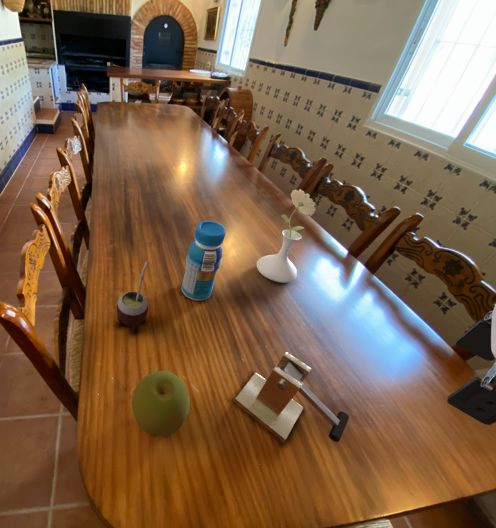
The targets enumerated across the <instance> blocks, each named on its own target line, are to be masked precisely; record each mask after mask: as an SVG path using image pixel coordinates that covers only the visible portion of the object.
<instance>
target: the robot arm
mask: <svg viewBox="0 0 496 528" xmlns="http://www.w3.org/2000/svg"><path fill="white" fill-rule="evenodd" d="M455 345H456V346H457V347H458V348H460V349H462V350H464V351H467V352H469V353H471V354H473V355H475V356H476V357H478V358H480V359H483V360H485V361H487V362H491V361H494V360H496V304H495V306H494V307H493V310H490V311H488V312H487V314H486V315H485V316H484V318H483V319H480V320H479V321H477V322H476V323H475V324H474V325H473V326H471V327H470V328H469V329H468V330H467V331H465V333H464V334H462V335H461V336H459V337H458V338H457V339H456V342H455ZM446 402H447V403H448V405H450V406H452V407H453V408H455V409H457V410H459V411H460V412H462V413H463V414H466V415H467V416H469V417H471V418H473V419H474V420H476V421H478V422H479V423H481V424H483V425H487V426H491V425H493V424H495V423H496V361H495V362H494V363H493V365H492V366H491V367H490V368H489V370H488V371H487V373H486V374H485V375H484V376H483V378H480V377H479V376H475V377H474V378H472V379H471V380H469V381H468V382H466V383H465V384H463V385H462V386H461V387H459V388H458V389H457V390H455V391H453V392H452V393H451V394H449V395H448V396H447V400H446Z"/></svg>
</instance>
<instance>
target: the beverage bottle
mask: <svg viewBox="0 0 496 528" xmlns="http://www.w3.org/2000/svg"><path fill="white" fill-rule="evenodd" d="M225 237H226V227H224V226H223V224H221V223H219V222H216V221H213V220H203V221H200V222H198V224H197V225H196V227H195V232H194V239H193V241H192V242H191V243H190V245H189V247H188V252H187V254H186V257H185V269H184V275H183V278H182V282H181V288H180V289H181V292H182V294H183V295H184V296H185V297H186V298H188V299H190V300H192V301H205V300H207V299H209V298H210V297H211V295H212V293H213V288H214V284H215V280H216V277H217V274H218V272H219V269H220V267H221V264H222V258H223V255H224V254H223V252H224V251H223V247H222V244H223V243H224V240H225Z"/></svg>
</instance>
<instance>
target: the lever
mask: <svg viewBox="0 0 496 528" xmlns="http://www.w3.org/2000/svg"><path fill="white" fill-rule="evenodd" d="M280 369H281V370H282V371H284V372H285V373H287V374H288V375H290V376H291V377H292V378H294V379H295V380H297V381H298V382H300V383H301V384H302V386H301V387H300V389H299V390H298V391H297V392H298V393H300V395H301V396H302V397H303V398H304V399H305V400H306V401H307V402H308V403H309V404H310V405H311V406H312V407H313V408H314V409H315V410H316V411H317V412H318V413H319V414H320V415H321V416H322V417H323V419H324V420H326V421H327V422H328V423H329V425H330V426H331V429H330V431H329V432H328V438H329V439H330V440H331V441H333V442H335V443H339V442H340V440H341V438H342V435H343V434H344V430H345V428H346V426H347V423H348V422H349V419H350V416H349V414H348V413H346V412H345V411H343V410H341V411H338V412H337V415H335V414H334V413H333V412H332V411H331V410H330V409H329V408H328V407H327V406H326V405H325V404H324V403H323V402H322V401H321V400H320V399H319V398H318V397H317V395H315V393H313V392H312V391H311V390H310V389H309V388H308V387H307V386H306V385H305V384H304V383H303V381H302V382H301V381H300V379H301V377H302V376H303V375H302V374H301V373H300V372H299V371H298V370H297V369H296V368H295V367H294V366H293V365H292V364H291V363H290V362H289V363H287V364H285V365H283V366H281V367H280Z"/></svg>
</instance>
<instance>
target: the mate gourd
mask: <svg viewBox="0 0 496 528" xmlns="http://www.w3.org/2000/svg"><path fill="white" fill-rule="evenodd" d="M148 263H149V261H148V260H146V261H145V262H144V265H143V268H142V270H141V273H140V276H139V282H138V289H137V291H134V290H133V291H132V290H131V291H127V292H125V293H123V294H122V295H121V296H120V297H119V299H118V301H117V304H116V318H117V320H118V322H117V325H118V327H124V326H127V327H130V329H131V330H130V331H131V333H132V334H133V335H134V334H137V331H136V327H138V326H139V325H141V324H143V323H144V324H145V322H146V320H145V319H146V318H147V316H148V312H149V305H148V301H147V299H146V298H145V297H144V295H143V294H142V293H141V289H142V285H143V281H144V278H145V272H146V269H147V266H148Z"/></svg>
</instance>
